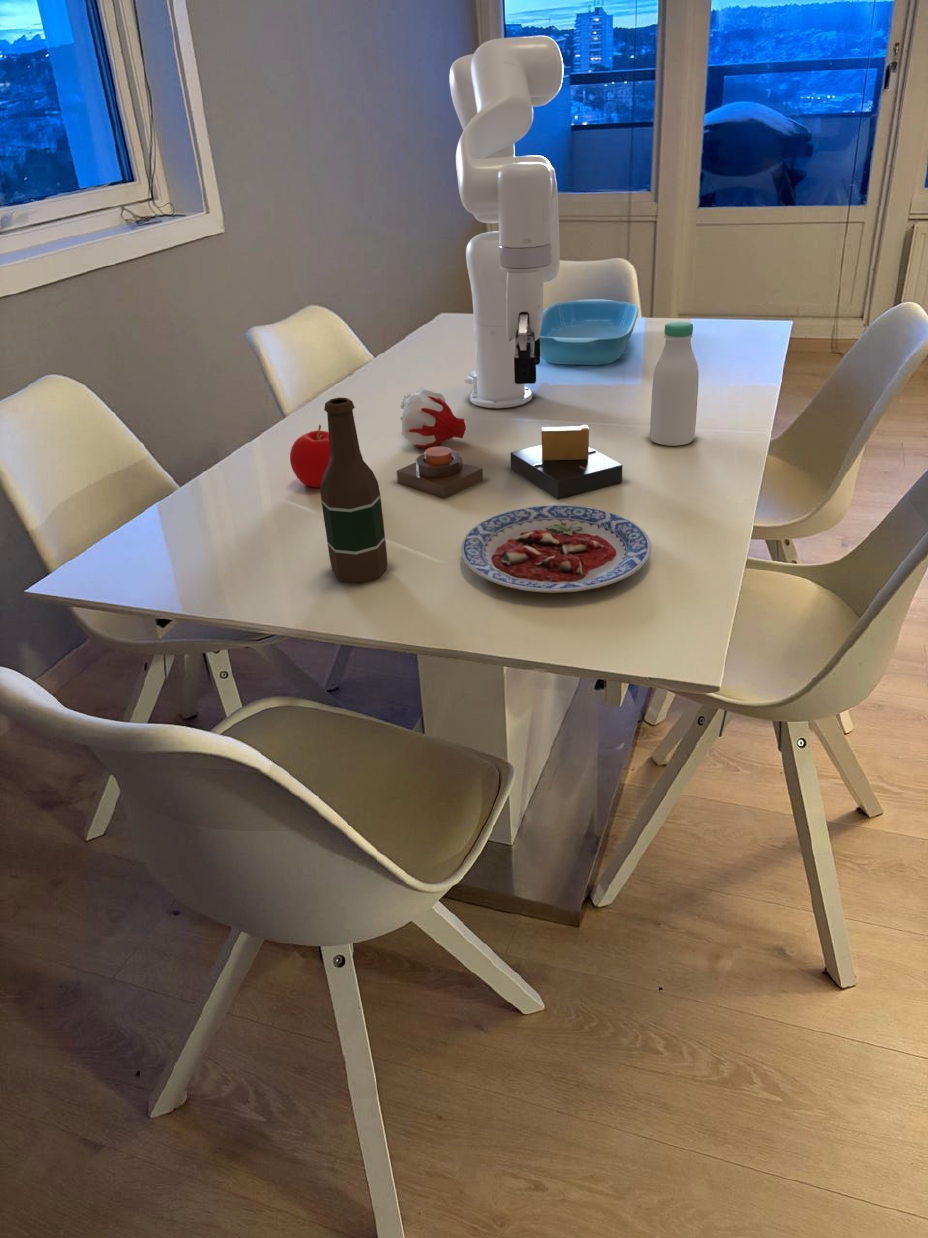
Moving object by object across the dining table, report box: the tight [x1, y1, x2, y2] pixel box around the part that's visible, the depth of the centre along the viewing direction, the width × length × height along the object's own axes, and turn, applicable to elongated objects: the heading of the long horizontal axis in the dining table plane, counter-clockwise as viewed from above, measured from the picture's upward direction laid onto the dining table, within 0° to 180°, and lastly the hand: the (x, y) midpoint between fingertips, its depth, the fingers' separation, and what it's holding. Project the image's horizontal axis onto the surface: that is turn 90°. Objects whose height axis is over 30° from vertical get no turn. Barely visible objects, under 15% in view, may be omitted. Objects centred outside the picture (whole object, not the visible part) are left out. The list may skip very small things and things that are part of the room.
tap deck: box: [509, 444, 623, 500], centre depth 153 cm, size 15×12×3 cm
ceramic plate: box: [460, 504, 652, 594], centre depth 129 cm, size 26×26×3 cm
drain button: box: [423, 445, 453, 465], centre depth 153 cm, size 4×4×2 cm
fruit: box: [289, 424, 330, 489], centre depth 155 cm, size 9×9×10 cm
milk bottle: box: [649, 320, 700, 447], centre depth 161 cm, size 8×8×20 cm
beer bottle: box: [319, 397, 388, 584], centre depth 123 cm, size 8×8×24 cm
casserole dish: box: [538, 298, 639, 366], centre depth 217 cm, size 37×22×7 cm, turn 166°
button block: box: [396, 451, 484, 499], centre depth 154 cm, size 11×9×4 cm
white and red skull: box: [400, 387, 467, 449], centre depth 168 cm, size 9×11×15 cm
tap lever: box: [541, 424, 590, 461], centre depth 151 cm, size 8×2×5 cm, turn 86°
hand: (527, 373), depth 146 cm, fingers open, 9 cm apart
